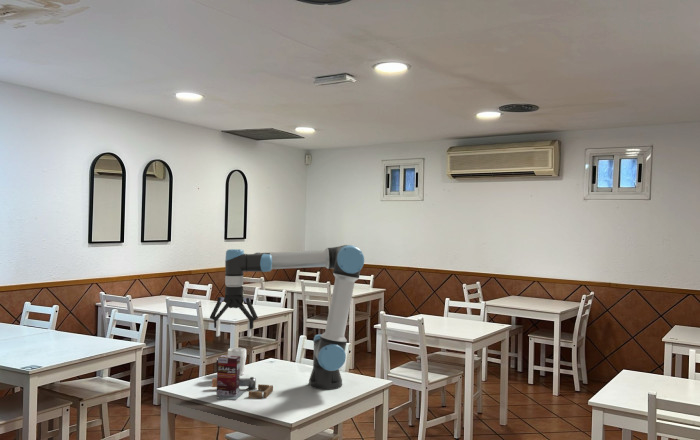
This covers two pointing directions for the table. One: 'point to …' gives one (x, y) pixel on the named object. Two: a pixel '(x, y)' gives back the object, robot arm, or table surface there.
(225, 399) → the slate mat
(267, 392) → the cradle
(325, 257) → the robot arm
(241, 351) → the cup
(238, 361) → the supplement box
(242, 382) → the lever
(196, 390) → the table surface
